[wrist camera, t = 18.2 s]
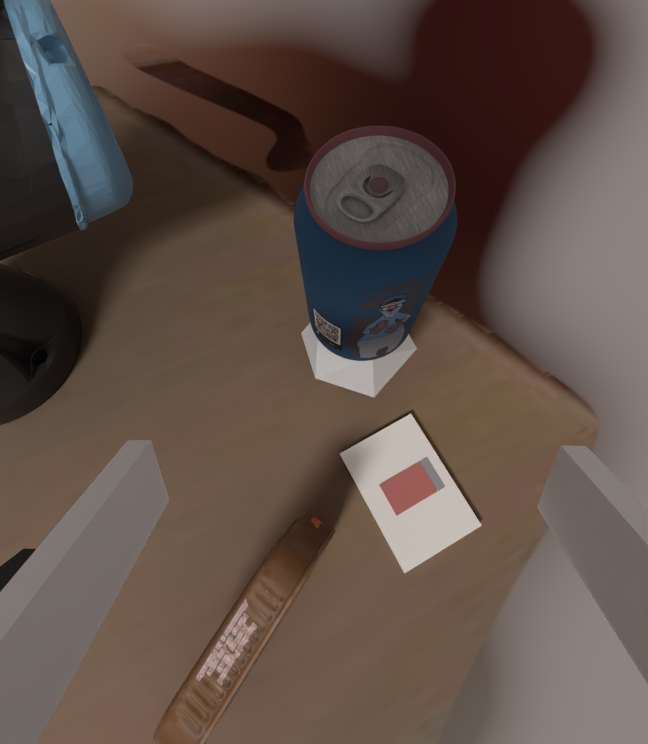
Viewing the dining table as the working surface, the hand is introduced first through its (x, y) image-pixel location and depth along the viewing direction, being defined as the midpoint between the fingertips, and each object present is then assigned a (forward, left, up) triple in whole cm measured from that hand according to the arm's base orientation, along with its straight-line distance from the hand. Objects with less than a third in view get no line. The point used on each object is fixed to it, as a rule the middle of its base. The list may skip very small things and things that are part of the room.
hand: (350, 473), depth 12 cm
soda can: (-9, +6, -10) cm, 15 cm away
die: (-9, +6, -18) cm, 21 cm away
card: (+3, +4, -18) cm, 19 cm away
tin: (+5, -9, -18) cm, 21 cm away
